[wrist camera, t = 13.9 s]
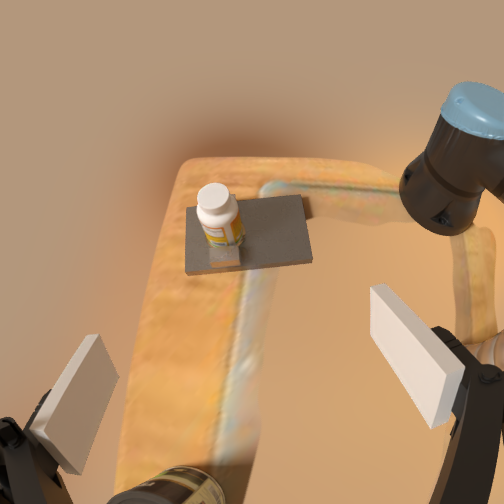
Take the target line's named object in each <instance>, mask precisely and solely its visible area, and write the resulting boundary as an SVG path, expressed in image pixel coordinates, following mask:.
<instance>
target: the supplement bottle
mask: <svg viewBox="0 0 504 504" xmlns="http://www.w3.org/2000/svg"><path fill="white" fill-rule="evenodd" d="M197 200H198V205H197V215H198V218H199V221H200V223H201V225H202V227H203V230H204V232H205V234H206V237H207V239H208V241H209V243H210V244H211V245H212V246H214V247H224V246H233V245H237V244H238V243H239V242H240V240H241V238H242V236H243V227H242V222H241V218H240V213H239V208H238V204H237V201H236V199H235V198H234V197H233V196H232V195H231V194H230V193H229V190H228V188H227V187H226V186H225V185H223V184H221V183H210V184H208V185H206V186H204V187H203V188H202V189H201V190H200V191H199V193H198V196H197Z"/></svg>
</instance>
